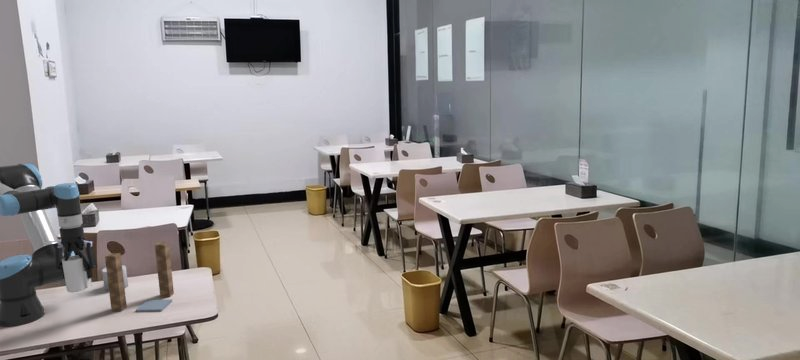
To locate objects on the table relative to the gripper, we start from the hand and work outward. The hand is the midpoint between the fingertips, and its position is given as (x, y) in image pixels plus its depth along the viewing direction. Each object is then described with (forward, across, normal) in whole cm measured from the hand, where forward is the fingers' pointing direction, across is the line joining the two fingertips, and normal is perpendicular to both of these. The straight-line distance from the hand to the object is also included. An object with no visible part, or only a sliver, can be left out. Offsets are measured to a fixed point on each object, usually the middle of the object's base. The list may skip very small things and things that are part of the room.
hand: (79, 286), depth 215 cm
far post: (+13, +21, +24) cm, 35 cm away
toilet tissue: (+13, -6, +36) cm, 39 cm away
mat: (+13, +21, +12) cm, 28 cm away
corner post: (+13, +8, +10) cm, 18 cm away
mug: (+1, 0, 0) cm, 1 cm away
